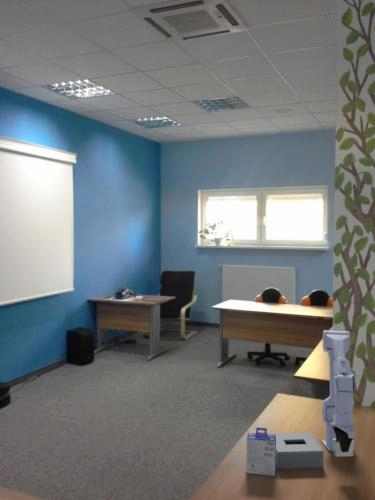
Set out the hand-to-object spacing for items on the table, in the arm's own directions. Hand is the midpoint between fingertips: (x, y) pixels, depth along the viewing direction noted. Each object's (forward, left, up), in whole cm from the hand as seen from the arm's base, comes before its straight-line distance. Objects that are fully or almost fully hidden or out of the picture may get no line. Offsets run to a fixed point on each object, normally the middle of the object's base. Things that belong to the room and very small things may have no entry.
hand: (343, 449), depth 158 cm
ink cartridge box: (+27, -4, -9) cm, 29 cm away
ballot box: (+13, -12, -9) cm, 20 cm away
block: (0, 0, -2) cm, 2 cm away
